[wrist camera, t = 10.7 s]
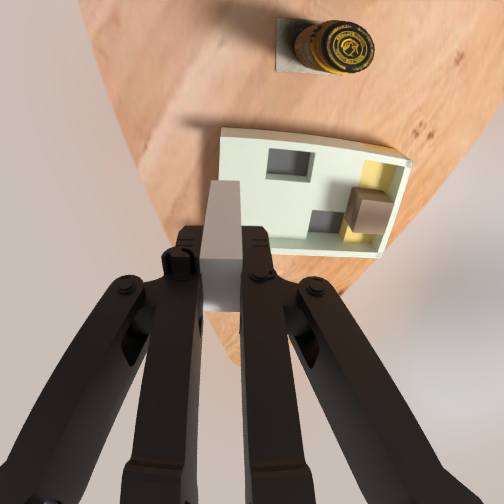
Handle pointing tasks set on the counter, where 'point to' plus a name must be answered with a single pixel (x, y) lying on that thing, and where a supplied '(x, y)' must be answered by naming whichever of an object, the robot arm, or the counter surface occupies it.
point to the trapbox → (309, 188)
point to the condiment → (322, 47)
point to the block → (368, 211)
